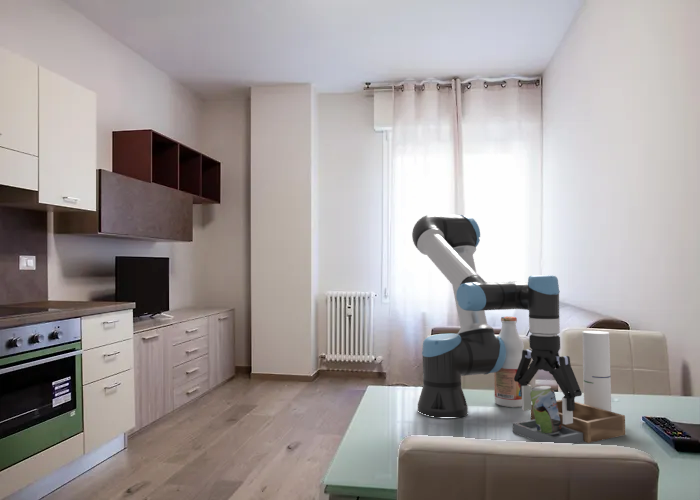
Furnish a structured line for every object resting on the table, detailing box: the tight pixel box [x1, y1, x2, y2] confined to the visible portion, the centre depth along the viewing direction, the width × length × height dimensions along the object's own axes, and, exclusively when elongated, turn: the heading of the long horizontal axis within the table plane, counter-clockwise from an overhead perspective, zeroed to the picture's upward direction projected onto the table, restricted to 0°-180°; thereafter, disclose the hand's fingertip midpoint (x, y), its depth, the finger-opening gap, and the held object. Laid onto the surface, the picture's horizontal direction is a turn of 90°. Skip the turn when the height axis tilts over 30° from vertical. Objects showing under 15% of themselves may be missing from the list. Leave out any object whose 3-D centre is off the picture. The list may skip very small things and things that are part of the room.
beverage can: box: [530, 385, 562, 435], centre depth 130 cm, size 6×7×12 cm
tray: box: [512, 419, 584, 444], centre depth 130 cm, size 14×10×2 cm
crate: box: [530, 399, 626, 444], centre depth 137 cm, size 19×14×5 cm
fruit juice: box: [493, 316, 525, 408], centre depth 163 cm, size 9×9×28 cm
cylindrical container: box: [581, 330, 612, 412], centre depth 146 cm, size 7×7×25 cm
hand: (546, 416), depth 130 cm, fingers open, 13 cm apart
